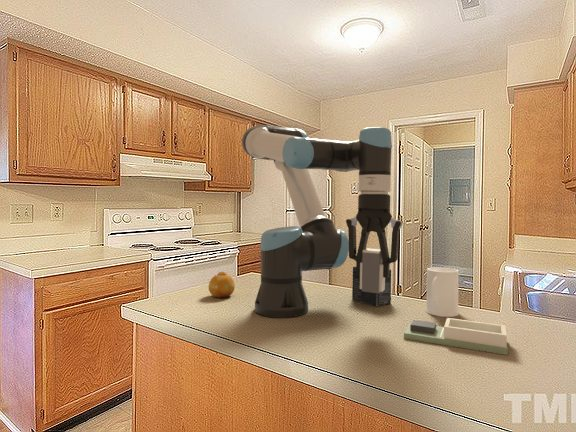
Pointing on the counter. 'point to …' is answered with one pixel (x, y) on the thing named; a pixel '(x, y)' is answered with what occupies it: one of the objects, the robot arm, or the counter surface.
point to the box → (369, 297)
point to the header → (475, 332)
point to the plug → (371, 270)
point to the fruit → (221, 285)
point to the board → (436, 335)
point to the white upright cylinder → (442, 291)
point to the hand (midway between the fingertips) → (372, 289)
